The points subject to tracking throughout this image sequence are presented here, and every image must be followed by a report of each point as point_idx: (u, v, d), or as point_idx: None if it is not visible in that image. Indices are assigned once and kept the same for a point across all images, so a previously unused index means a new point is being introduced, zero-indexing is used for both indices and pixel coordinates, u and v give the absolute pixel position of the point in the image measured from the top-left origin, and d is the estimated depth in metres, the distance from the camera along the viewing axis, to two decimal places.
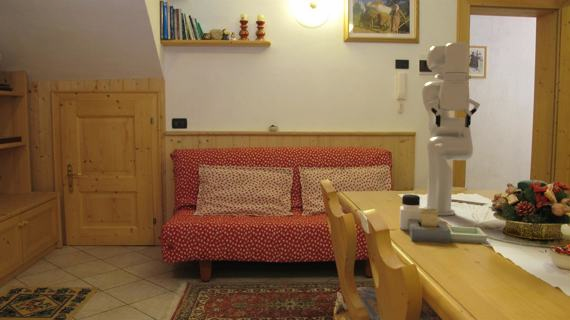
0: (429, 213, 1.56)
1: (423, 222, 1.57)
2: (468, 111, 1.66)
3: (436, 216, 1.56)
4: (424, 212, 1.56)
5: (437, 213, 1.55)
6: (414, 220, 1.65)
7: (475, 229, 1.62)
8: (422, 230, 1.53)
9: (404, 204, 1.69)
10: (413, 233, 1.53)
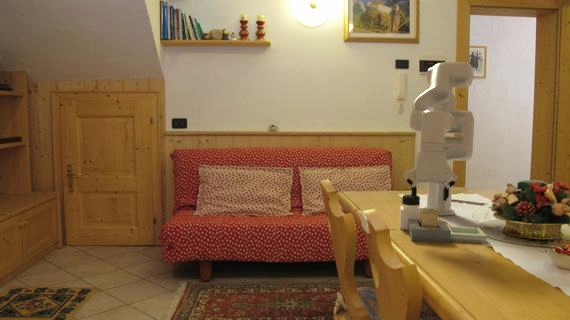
0: (429, 213, 1.56)
1: (423, 222, 1.57)
2: (446, 184, 1.55)
3: (436, 216, 1.56)
4: (424, 212, 1.56)
5: (437, 213, 1.55)
6: (414, 220, 1.65)
7: (475, 229, 1.62)
8: (422, 230, 1.53)
9: (404, 204, 1.69)
10: (413, 233, 1.53)
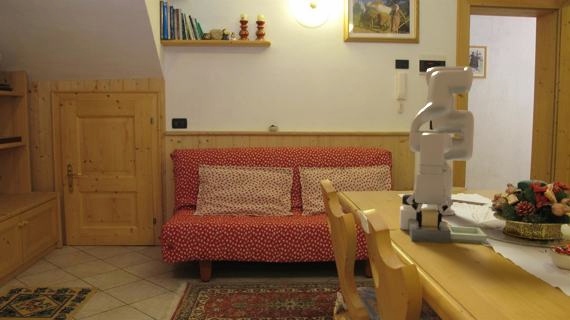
0: (429, 213, 1.56)
1: (423, 222, 1.57)
2: (440, 208, 1.56)
3: (436, 216, 1.56)
4: (424, 212, 1.56)
5: (437, 213, 1.55)
6: (414, 220, 1.65)
7: (475, 229, 1.62)
8: (422, 230, 1.53)
9: (404, 204, 1.69)
10: (413, 233, 1.53)
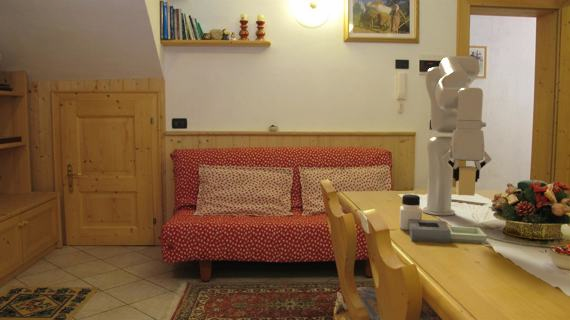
0: (467, 169, 1.53)
1: (460, 179, 1.54)
2: (478, 164, 1.54)
3: (474, 173, 1.53)
4: (461, 168, 1.54)
5: (475, 169, 1.53)
6: (414, 220, 1.65)
7: (475, 229, 1.62)
8: (422, 230, 1.53)
9: (404, 204, 1.69)
10: (413, 233, 1.53)
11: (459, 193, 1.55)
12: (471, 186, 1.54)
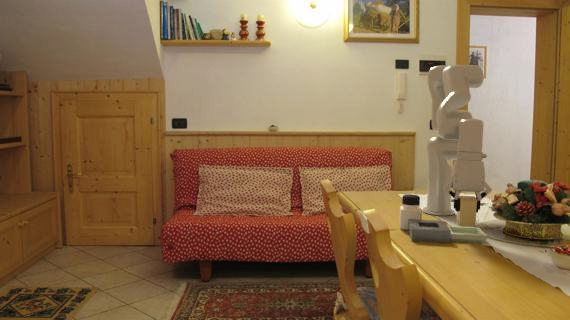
0: (468, 200, 1.54)
1: (461, 209, 1.55)
2: (479, 195, 1.55)
3: (475, 204, 1.54)
4: (463, 199, 1.54)
5: (476, 200, 1.54)
6: (414, 220, 1.65)
7: (475, 229, 1.62)
8: (422, 230, 1.53)
9: (404, 204, 1.69)
10: (413, 233, 1.53)
11: (460, 224, 1.55)
12: (472, 217, 1.55)
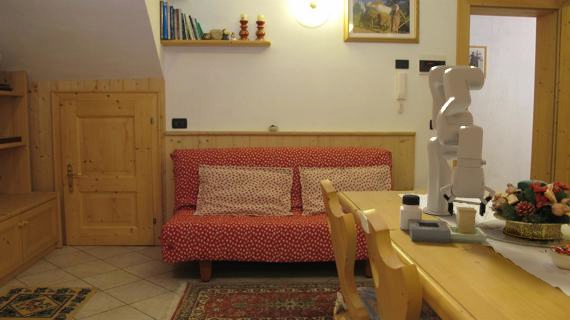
0: (467, 212, 1.55)
1: (460, 221, 1.56)
2: (483, 199, 1.55)
3: (474, 215, 1.55)
4: (462, 211, 1.55)
5: (475, 212, 1.54)
6: (414, 220, 1.65)
7: (475, 229, 1.62)
8: (422, 230, 1.53)
9: (404, 204, 1.69)
10: (413, 233, 1.53)
11: None
12: (471, 228, 1.55)
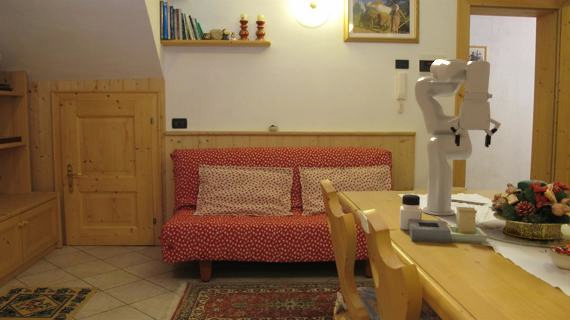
0: (467, 212, 1.55)
1: (460, 221, 1.56)
2: (488, 131, 1.63)
3: (474, 215, 1.55)
4: (462, 211, 1.55)
5: (475, 212, 1.54)
6: (414, 220, 1.65)
7: (475, 229, 1.62)
8: (422, 230, 1.53)
9: (404, 204, 1.69)
10: (413, 233, 1.53)
11: None
12: (471, 228, 1.55)
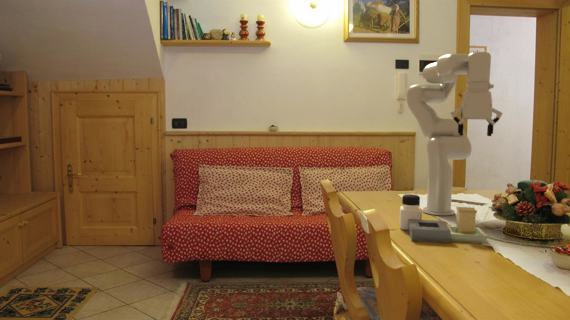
0: (467, 212, 1.55)
1: (460, 221, 1.56)
2: (491, 120, 1.68)
3: (474, 215, 1.55)
4: (462, 211, 1.55)
5: (475, 212, 1.54)
6: (414, 220, 1.65)
7: (475, 229, 1.62)
8: (422, 230, 1.53)
9: (404, 204, 1.69)
10: (413, 233, 1.53)
11: None
12: (471, 228, 1.55)
